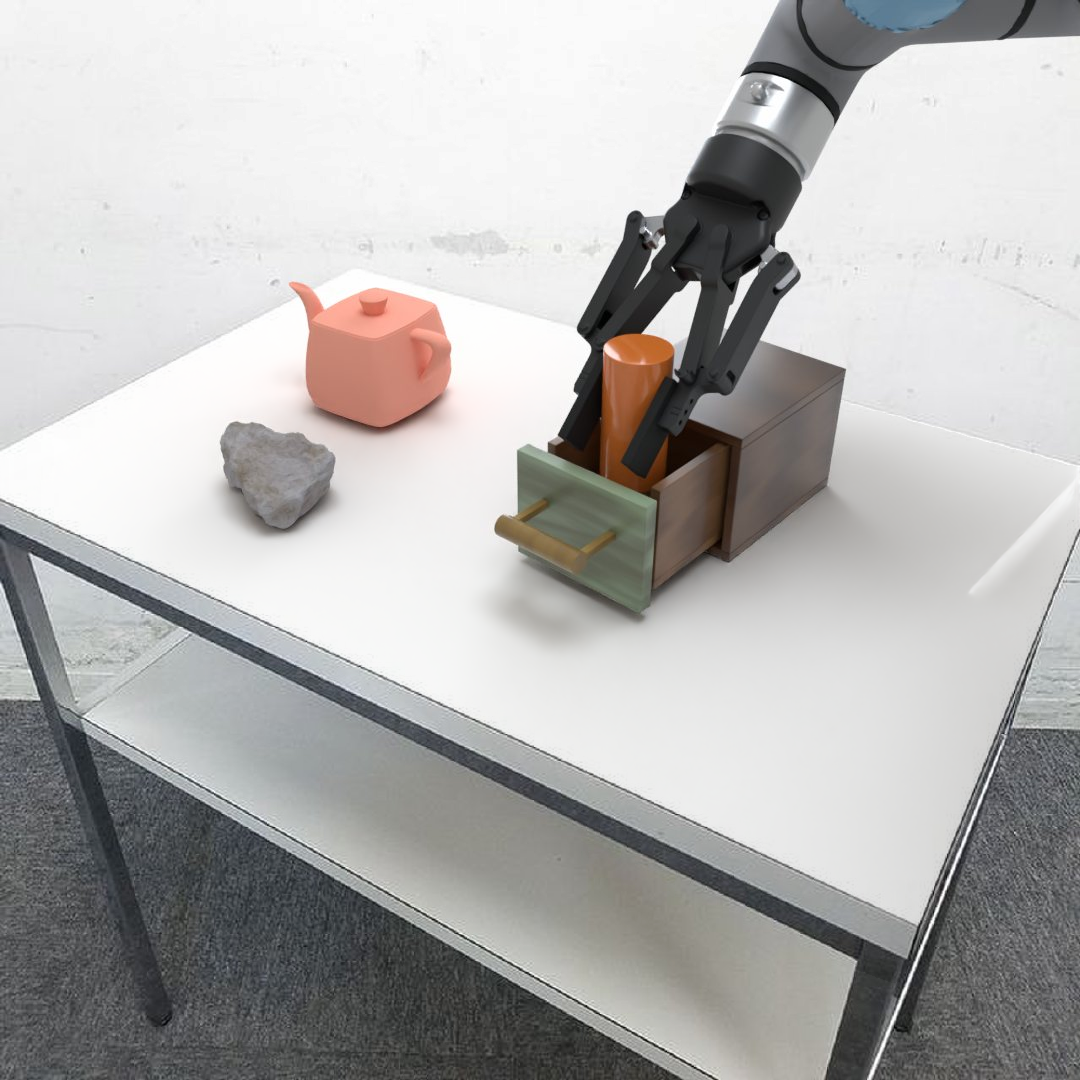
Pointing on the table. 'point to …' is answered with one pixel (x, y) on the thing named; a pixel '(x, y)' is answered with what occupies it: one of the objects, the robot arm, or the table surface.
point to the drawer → (618, 515)
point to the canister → (631, 403)
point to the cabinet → (770, 438)
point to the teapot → (374, 354)
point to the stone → (276, 470)
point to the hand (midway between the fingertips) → (601, 456)
